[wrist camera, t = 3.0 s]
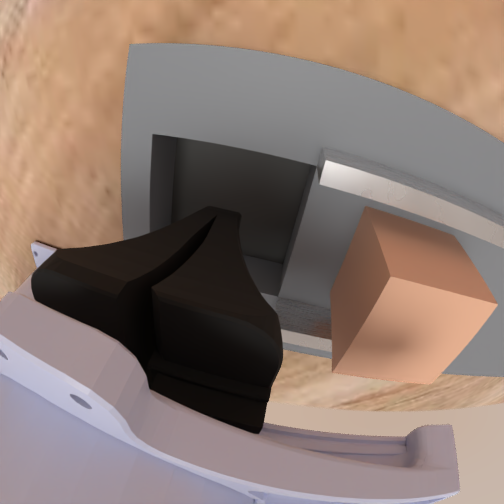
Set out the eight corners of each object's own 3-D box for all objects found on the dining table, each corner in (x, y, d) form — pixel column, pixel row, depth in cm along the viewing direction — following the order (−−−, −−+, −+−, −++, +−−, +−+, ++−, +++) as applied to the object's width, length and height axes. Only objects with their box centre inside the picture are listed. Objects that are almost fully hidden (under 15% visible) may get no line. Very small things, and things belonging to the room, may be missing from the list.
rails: (426, 339, 14) (434, 366, 13) (274, 308, 15) (269, 339, 13) (502, 215, 10) (524, 237, 8) (322, 145, 10) (325, 160, 8)
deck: (496, 350, 18) (506, 376, 15) (151, 276, 19) (131, 306, 17) (583, 210, 10) (605, 232, 7) (162, 47, 11) (129, 44, 9)
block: (410, 310, 13) (430, 384, 10) (329, 292, 13) (331, 372, 10) (454, 235, 11) (498, 304, 7) (365, 205, 11) (390, 276, 7)
